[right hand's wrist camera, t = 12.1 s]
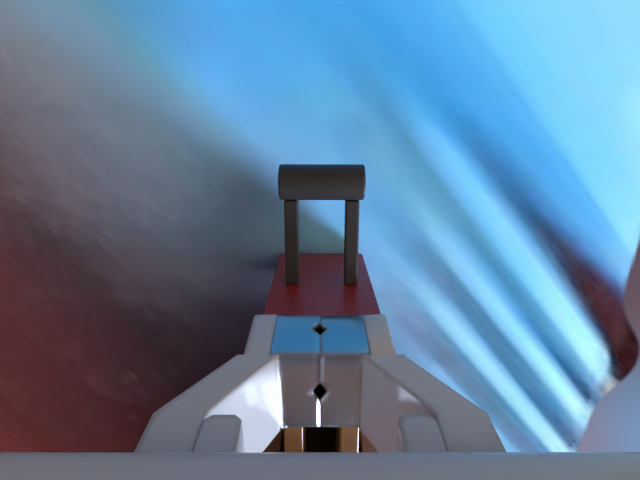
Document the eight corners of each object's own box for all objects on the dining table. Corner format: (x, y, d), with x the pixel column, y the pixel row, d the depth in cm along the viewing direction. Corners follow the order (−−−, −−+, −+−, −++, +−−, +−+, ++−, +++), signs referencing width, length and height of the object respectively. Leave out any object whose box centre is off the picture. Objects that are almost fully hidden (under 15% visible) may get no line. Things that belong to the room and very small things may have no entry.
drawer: (278, 156, 24) (254, 176, 15) (364, 156, 24) (390, 176, 15) (285, 488, 29) (271, 641, 21) (355, 488, 29) (370, 642, 21)
